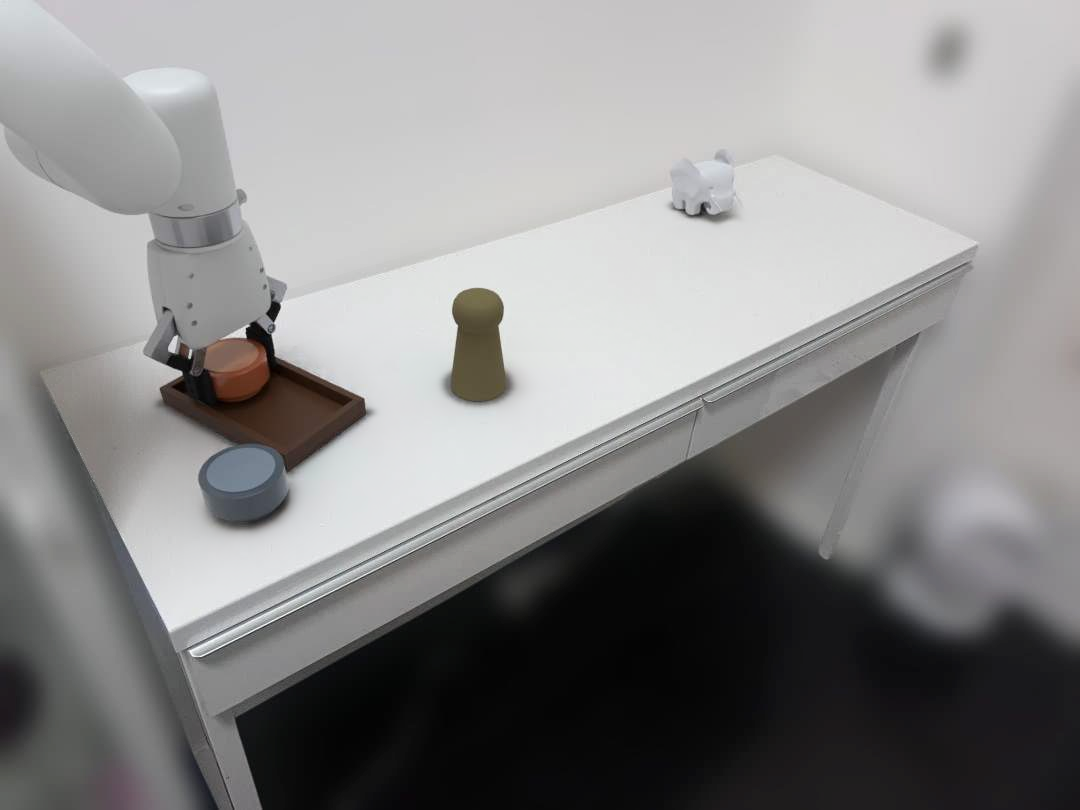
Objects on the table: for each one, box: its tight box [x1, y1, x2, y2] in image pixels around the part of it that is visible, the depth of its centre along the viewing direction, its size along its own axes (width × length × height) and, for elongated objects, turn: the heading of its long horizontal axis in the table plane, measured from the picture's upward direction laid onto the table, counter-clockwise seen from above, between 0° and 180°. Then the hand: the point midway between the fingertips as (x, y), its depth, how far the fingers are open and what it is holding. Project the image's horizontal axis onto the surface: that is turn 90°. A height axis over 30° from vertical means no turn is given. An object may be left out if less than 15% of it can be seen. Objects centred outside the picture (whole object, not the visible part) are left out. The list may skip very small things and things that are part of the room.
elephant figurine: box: [668, 146, 743, 216], centre depth 122 cm, size 10×12×9 cm
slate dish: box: [197, 444, 289, 524], centre depth 70 cm, size 7×7×4 cm
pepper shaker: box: [449, 287, 507, 403], centre depth 83 cm, size 6×6×11 cm
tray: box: [158, 356, 367, 472], centre depth 81 cm, size 11×18×2 cm, turn 57°
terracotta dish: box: [203, 337, 270, 402], centre depth 81 cm, size 7×7×4 cm
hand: (235, 380), depth 82 cm, fingers closed on terracotta dish, 7 cm apart
